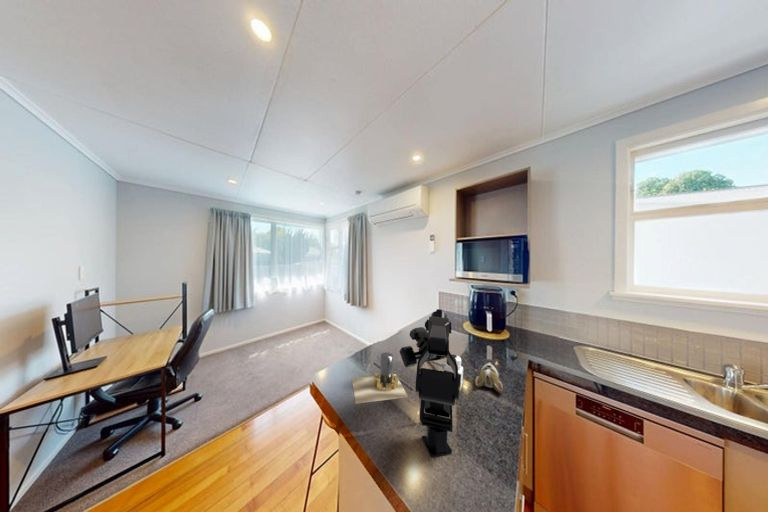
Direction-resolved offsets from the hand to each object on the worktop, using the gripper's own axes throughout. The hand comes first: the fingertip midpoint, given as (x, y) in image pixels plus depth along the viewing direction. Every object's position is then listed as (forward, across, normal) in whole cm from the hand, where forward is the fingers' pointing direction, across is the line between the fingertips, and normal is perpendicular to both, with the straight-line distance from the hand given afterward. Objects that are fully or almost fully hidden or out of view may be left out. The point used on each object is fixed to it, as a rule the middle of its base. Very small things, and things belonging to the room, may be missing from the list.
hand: (414, 362), depth 82 cm
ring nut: (+17, +7, +1) cm, 18 cm away
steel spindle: (+16, +6, +1) cm, 18 cm away
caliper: (+19, -24, 0) cm, 31 cm away
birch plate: (+17, +10, +2) cm, 20 cm away
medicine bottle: (+10, -21, +9) cm, 25 cm away
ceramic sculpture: (+5, -35, +15) cm, 39 cm away
